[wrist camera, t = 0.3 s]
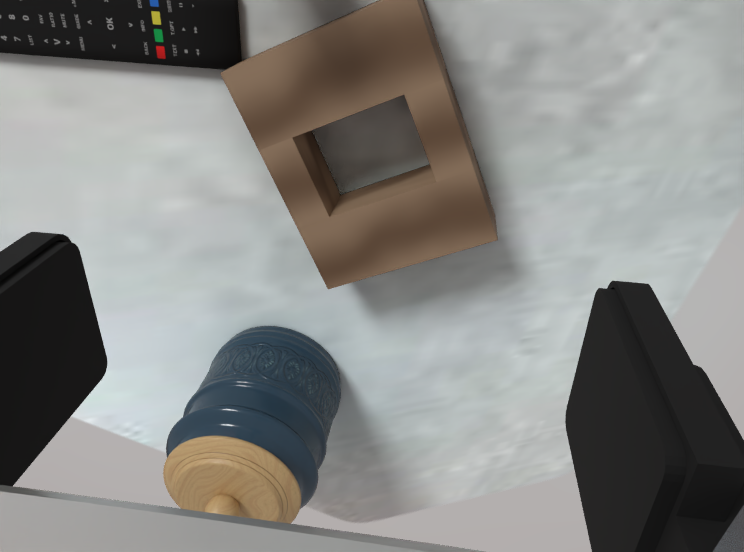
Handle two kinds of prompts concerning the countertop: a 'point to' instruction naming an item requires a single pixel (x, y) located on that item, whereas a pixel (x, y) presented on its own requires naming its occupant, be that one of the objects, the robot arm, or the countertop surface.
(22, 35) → the remote control
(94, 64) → the countertop surface
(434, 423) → the countertop surface
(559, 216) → the countertop surface
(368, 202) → the frame
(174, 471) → the canister
